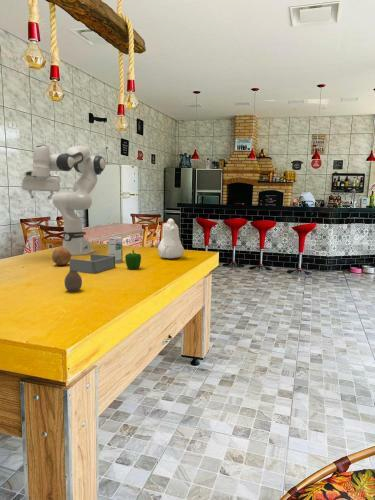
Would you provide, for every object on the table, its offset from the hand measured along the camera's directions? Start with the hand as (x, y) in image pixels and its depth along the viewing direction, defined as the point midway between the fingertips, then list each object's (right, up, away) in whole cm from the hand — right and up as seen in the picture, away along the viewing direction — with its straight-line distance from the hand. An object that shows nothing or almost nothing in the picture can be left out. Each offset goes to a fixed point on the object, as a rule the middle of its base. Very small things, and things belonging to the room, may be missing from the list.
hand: (40, 198), depth 217 cm
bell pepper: (+54, -39, -11) cm, 67 cm away
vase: (+36, -46, -58) cm, 82 cm away
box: (+32, -39, -14) cm, 52 cm away
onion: (+14, -37, -7) cm, 40 cm away
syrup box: (+41, -36, +6) cm, 55 cm away
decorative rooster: (+72, -34, +26) cm, 83 cm away
